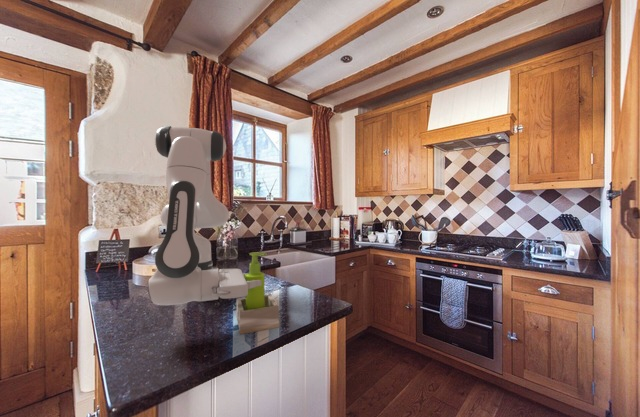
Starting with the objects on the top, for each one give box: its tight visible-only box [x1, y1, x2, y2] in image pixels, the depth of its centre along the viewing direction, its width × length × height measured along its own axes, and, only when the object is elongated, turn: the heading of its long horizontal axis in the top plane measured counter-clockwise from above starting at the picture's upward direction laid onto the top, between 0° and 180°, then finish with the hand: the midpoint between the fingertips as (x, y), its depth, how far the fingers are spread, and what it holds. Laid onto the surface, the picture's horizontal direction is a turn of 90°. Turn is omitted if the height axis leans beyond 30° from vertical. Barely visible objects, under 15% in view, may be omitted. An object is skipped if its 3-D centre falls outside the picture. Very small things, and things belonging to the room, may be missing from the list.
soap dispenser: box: [244, 251, 268, 310], centre depth 82 cm, size 6×7×20 cm
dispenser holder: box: [235, 293, 280, 335], centre depth 83 cm, size 12×11×6 cm
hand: (259, 279), depth 83 cm, fingers closed on soap dispenser, 6 cm apart
